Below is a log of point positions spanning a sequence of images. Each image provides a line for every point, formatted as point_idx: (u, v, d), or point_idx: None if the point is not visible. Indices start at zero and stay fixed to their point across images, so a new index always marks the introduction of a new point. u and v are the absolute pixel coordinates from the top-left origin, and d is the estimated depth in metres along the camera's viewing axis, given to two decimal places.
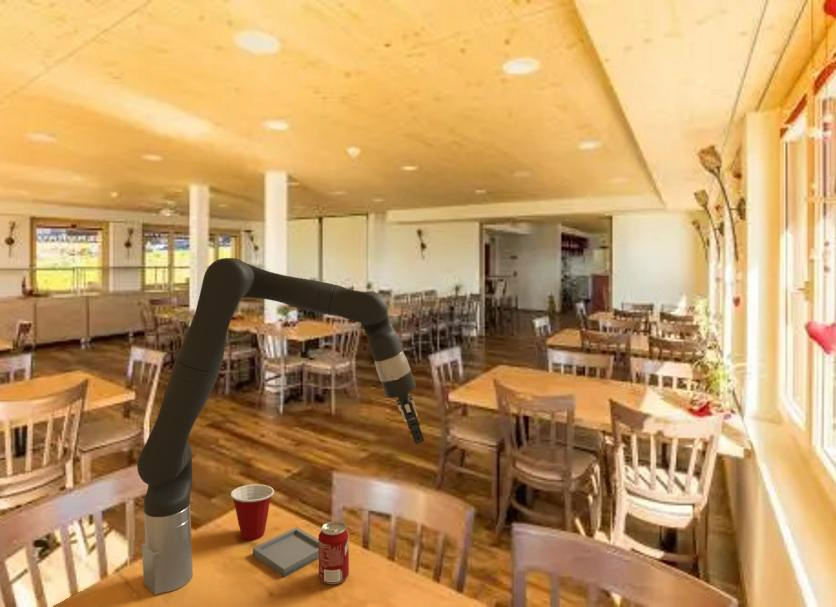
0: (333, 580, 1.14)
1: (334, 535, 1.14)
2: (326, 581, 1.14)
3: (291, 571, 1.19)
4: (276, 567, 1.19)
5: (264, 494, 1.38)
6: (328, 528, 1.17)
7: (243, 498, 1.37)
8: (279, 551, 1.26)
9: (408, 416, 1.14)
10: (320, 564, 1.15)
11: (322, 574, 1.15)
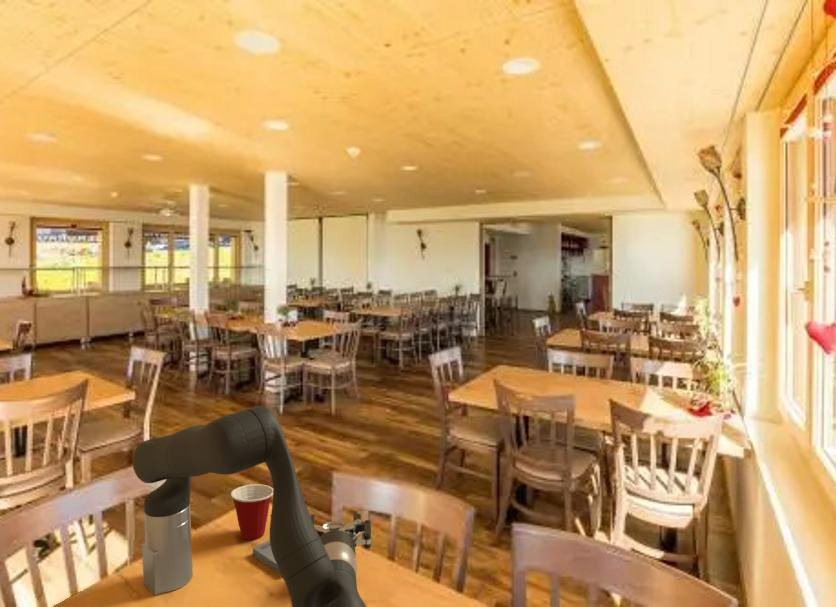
0: None
1: None
2: None
3: None
4: (276, 567, 1.19)
5: (264, 494, 1.38)
6: (328, 528, 1.17)
7: (243, 498, 1.37)
8: None
9: None
10: None
11: None
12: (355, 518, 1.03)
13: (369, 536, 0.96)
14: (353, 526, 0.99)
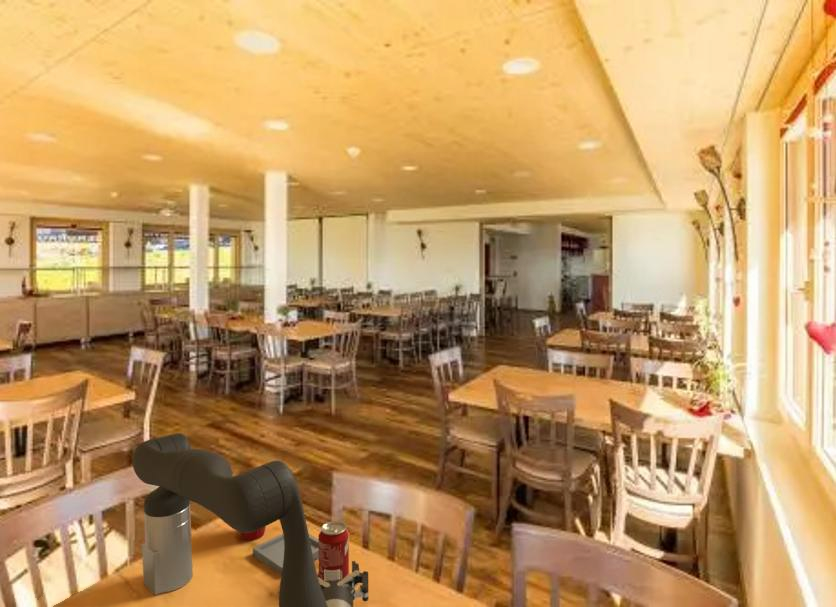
0: (333, 580, 1.14)
1: (334, 535, 1.14)
2: None
3: None
4: (276, 567, 1.19)
5: None
6: (328, 528, 1.17)
7: None
8: (279, 551, 1.26)
9: None
10: (320, 564, 1.15)
11: (322, 574, 1.15)
12: (354, 569, 1.08)
13: (367, 590, 1.01)
14: (351, 578, 1.04)
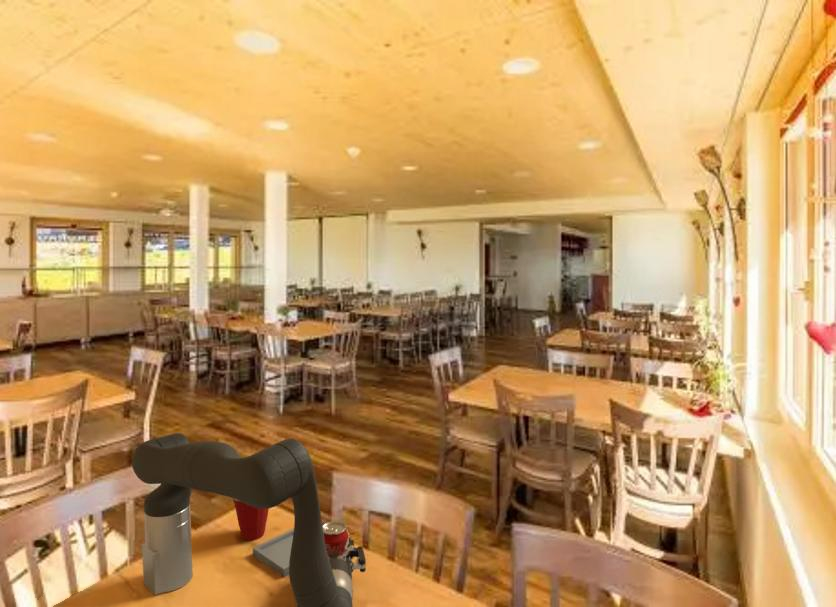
0: None
1: (334, 535, 1.14)
2: None
3: None
4: (276, 567, 1.19)
5: None
6: (328, 528, 1.17)
7: None
8: (279, 551, 1.26)
9: None
10: None
11: None
12: (349, 544, 1.17)
13: (364, 561, 1.10)
14: (348, 552, 1.13)
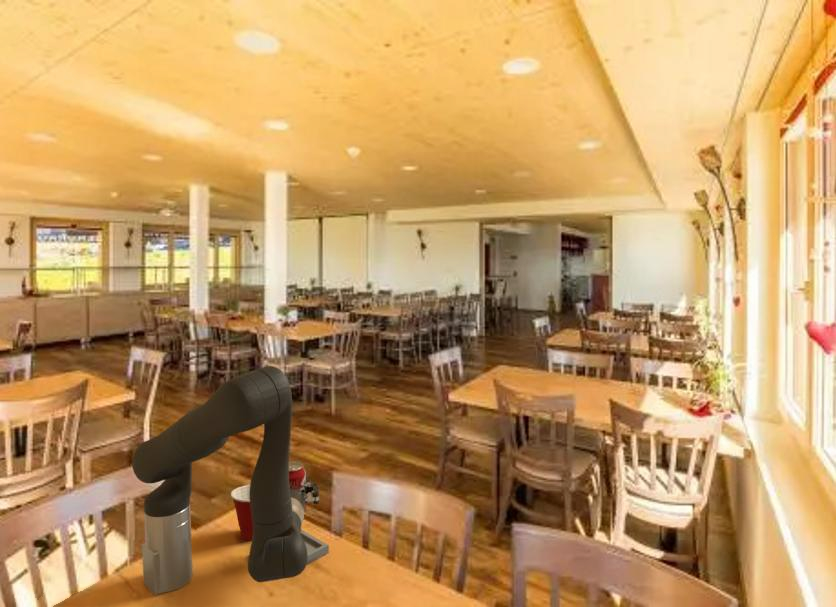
0: None
1: (291, 472, 1.22)
2: None
3: None
4: None
5: None
6: None
7: (243, 498, 1.37)
8: None
9: None
10: None
11: None
12: (306, 482, 1.24)
13: (317, 494, 1.18)
14: (304, 487, 1.21)
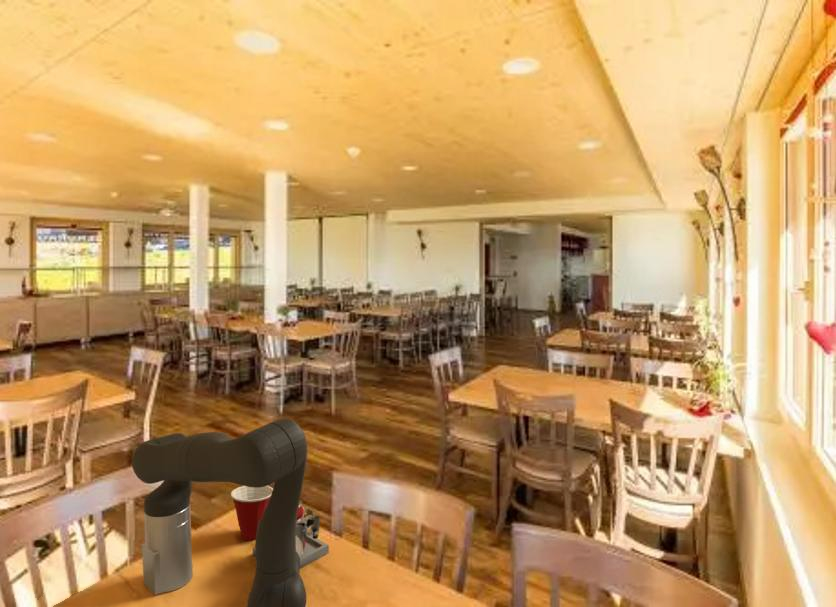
0: None
1: None
2: None
3: None
4: None
5: (264, 494, 1.38)
6: None
7: (243, 498, 1.37)
8: None
9: None
10: None
11: None
12: (307, 514, 1.25)
13: (316, 529, 1.19)
14: (304, 521, 1.21)
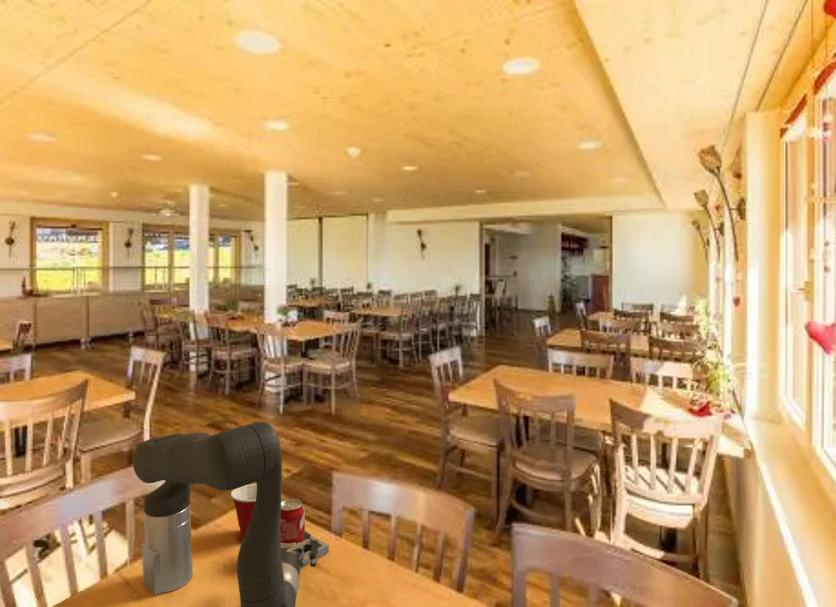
0: None
1: (290, 511, 1.23)
2: None
3: None
4: None
5: None
6: (285, 505, 1.26)
7: (243, 498, 1.37)
8: None
9: None
10: None
11: None
12: (305, 538, 1.13)
13: (314, 556, 1.07)
14: (301, 546, 1.10)
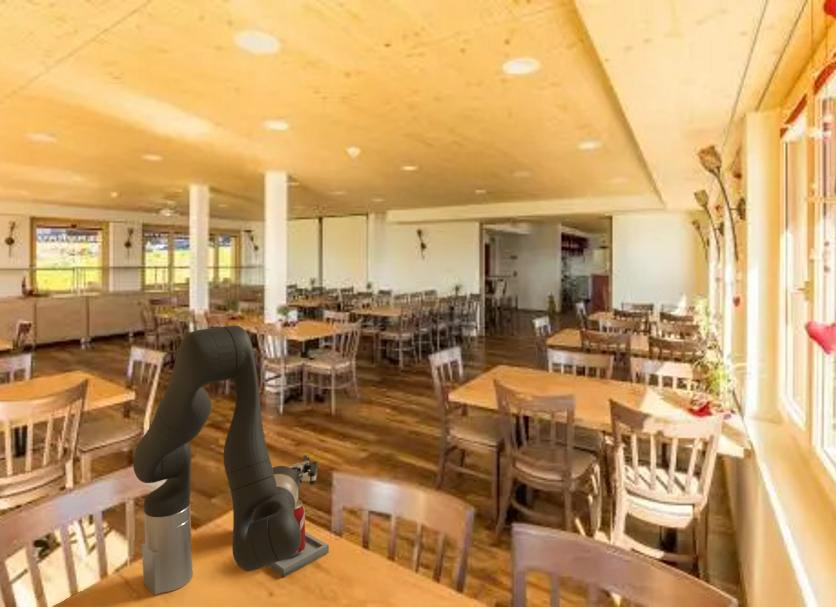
0: None
1: None
2: None
3: (291, 571, 1.19)
4: (276, 567, 1.19)
5: None
6: None
7: None
8: None
9: None
10: None
11: None
12: (304, 460, 1.12)
13: (313, 473, 1.05)
14: (300, 465, 1.08)
